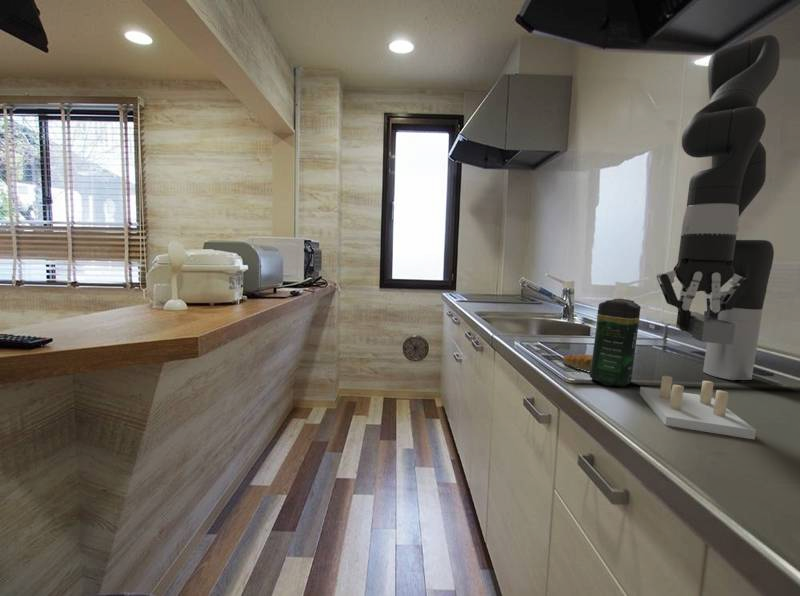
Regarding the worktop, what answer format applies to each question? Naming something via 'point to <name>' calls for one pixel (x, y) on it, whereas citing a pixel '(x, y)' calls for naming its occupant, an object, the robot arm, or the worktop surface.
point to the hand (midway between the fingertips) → (694, 331)
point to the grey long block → (710, 329)
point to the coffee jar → (615, 342)
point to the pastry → (579, 361)
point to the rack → (695, 409)
